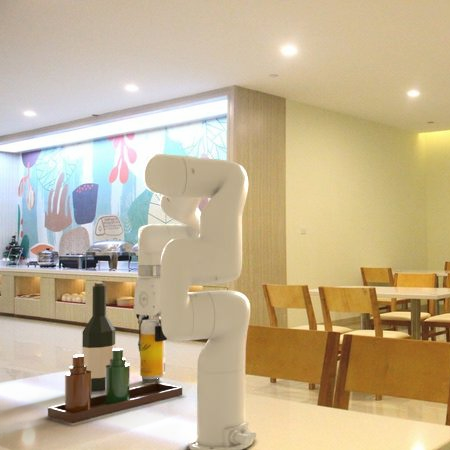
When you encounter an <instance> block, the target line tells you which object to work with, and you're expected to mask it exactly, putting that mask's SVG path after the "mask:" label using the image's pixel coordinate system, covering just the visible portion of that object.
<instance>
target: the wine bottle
mask: <svg viewBox="0 0 450 450" xmlns="http://www.w3.org/2000/svg"><path fill="white" fill-rule="evenodd" d="M93 284H94V285H92V316H91V318H90V319H89V321H88V322H87V324H86V326H85V327H84V329H83V330H82V338H81V339H82V343H81V344H82V345H81V347H82V349H81V350H82V353H81V355H84V365H87V370H89V371H91V393H94V392H105V367H106V366H107V365H110V359H112V350H113V349H116V327H115V326H114V324H113V323H112V322H111V320H110V319H109V318H108V316H107V285H105V282H94V283H93Z"/></svg>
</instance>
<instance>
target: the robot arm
mask: <svg viewBox="0 0 450 450" xmlns="http://www.w3.org/2000/svg"><path fill="white" fill-rule="evenodd" d="M143 182H144V186H145V188H146V189H147V190H148V191H149V192H151V193H153V194H157V195H161V197H160V200H159V206H160V208H161V209H160V210H162V212H163V213H164V214H165V215H166V216H167V217H169V218H170V219H171V220H174V221H177V222H179V223H151V224H146V225H142V226H140V227H139V228H138V231H137V277H136V280H135V285H134V294H133V312H134V314H135V316H136V318H137V324H138V340H139V339H141V323H142V321H143V320H148V319H152V318H151V317H153V316H155V319H156V324H157V326H155V341H156V342H159V341H165V342H166V341H167V340H169V341H172V342H188V341H189V342H190V341H198V340H207V341H206V343H205V344H204V346H203V347H202V349H201V350H200V352H199V355H198V358H197V367H196V369H197V370H196V371H197V372H196V373H197V374H196V378H197V381H196V384H197V385H196V387H197V388H196V392H197V393H196V435H195V436H193V437H192V438H191V439H190V440H189V442H188V448H189V450H245V449H246V448H249V447H250V446H251V445H252V444H253V442H254V440H255V439H256V438H257V432H255V431H251V430H249V422H246V361H247V359H246V356H247V355H246V354H247V351H246V350H247V338H248V330H249V325H250V319H251V303H250V300H249V298H248V297H247V296H246V295H245V294H243V293H242V292H240V291H237V290H232V289H218V290H216V289H215V290H204V291H190V288H191V287H192V286H202V285H203V286H204V285H218V284H227V283H228V284H229V283H232V282H235V281H236V280H238V279H239V278H240V277H241V274H242V269H243V213H244V208H245V205H246V201H247V197H248V194H249V178H248V173H247V171H246V169H245V168H244V166H243V165H241V164H239V163H238V162H235V161H231V160H227V159H218V158H204V157H201V158H200V157H196V156H189V155H177V154H166V153H165V154H164V153H156V154H154V155H152V156H150V157H149V159H148V160H147V161H146V164H145V166H144V169H143ZM202 199H209V200H208V201H207V203H206V204H205V205H204V207H203V208H202V210H200V209H199V205H200V203H201V202H202ZM189 291H190V292H189ZM160 319H161V320H160Z"/></svg>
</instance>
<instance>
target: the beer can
mask: <svg viewBox="0 0 450 450" xmlns="http://www.w3.org/2000/svg"><path fill="white" fill-rule="evenodd" d="M160 320H161V318H160ZM155 326H157V324H156V319H153V318H150V319H148V320H143V321H142V323H141V349H140V352H139V358H140V359H139V360H140V365H139V367H140V371H139V372H140V376H141V378H142V377H143V378H144V379H156V378H160V379H161V378H163V377H164V375H165V374H166V340H165V341H159V342H156V341H155Z"/></svg>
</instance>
